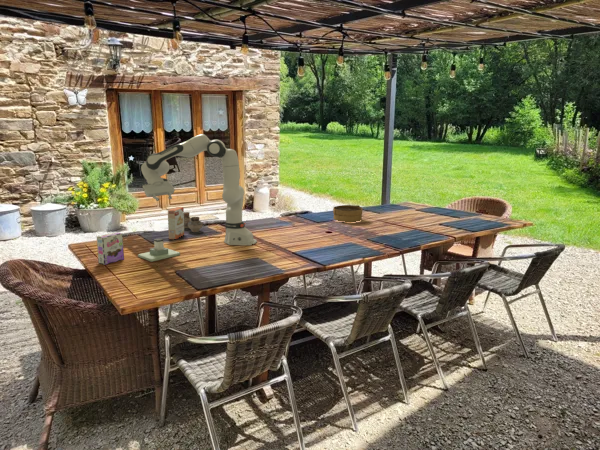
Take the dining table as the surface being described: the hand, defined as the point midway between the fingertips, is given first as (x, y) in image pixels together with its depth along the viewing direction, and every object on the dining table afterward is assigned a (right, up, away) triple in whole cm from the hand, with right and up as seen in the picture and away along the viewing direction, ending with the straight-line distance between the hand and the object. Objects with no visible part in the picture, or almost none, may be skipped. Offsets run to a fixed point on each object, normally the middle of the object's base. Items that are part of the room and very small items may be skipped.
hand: (164, 199), depth 306 cm
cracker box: (0, -26, +29) cm, 39 cm away
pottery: (+5, -20, +53) cm, 57 cm away
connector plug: (+2, -34, -17) cm, 38 cm away
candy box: (-23, -38, -29) cm, 53 cm away
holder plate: (+2, -36, -16) cm, 39 cm away
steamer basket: (+129, -13, +93) cm, 160 cm away
